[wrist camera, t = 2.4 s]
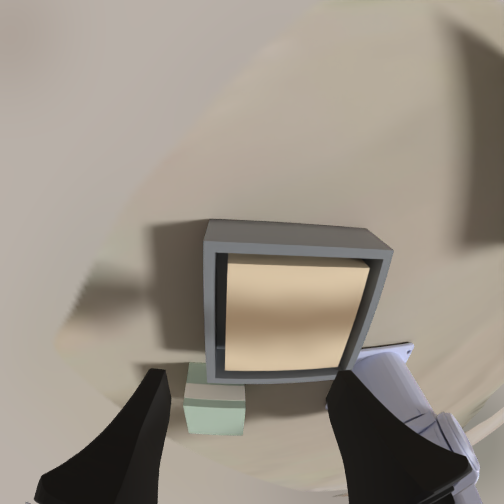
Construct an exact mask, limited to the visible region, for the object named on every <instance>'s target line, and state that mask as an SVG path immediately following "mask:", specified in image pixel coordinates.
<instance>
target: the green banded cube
mask: <svg viewBox="0 0 504 504" xmlns="http://www.w3.org/2000/svg"><path fill="white" fill-rule="evenodd" d="M245 401H246V400H245V386H244V384H221V383H207V371H206V363H195V362H189V369H188V375H187V382H186V387H185V394H184V403H183V407H184V412H185V417H186V422H187V427H188V431H189V433H194V434H208V435H243V428H244V419H245V410H246V405H245Z"/></svg>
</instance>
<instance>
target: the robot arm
mask: <svg viewBox="0 0 504 504" xmlns="http://www.w3.org/2000/svg"><path fill="white" fill-rule="evenodd" d="M413 348H414V344H413V343H406V344H399V345H392V346H385V347H377V348H368V349H361V351H360V353H359V355H358V358H357V360H356V362H355V365H354V367H353V369H352V371H351V370H343V371H338V372H337V375H336V377H335V379H334V382H333V384H332V386H331V389H330V391H329V393H328V395H327V398H326V402H327V404H326V406H325V407H326V409H327V410H328V413H329V418H330V422H331V425H332V428H333V431H334V434H335V437H336V440H337V443H338V446H339V450H340V453H341V456H342V459H343V463H344V468H345V474H346V480H347V488H348V496H349V504H483V503H482V501H481V498H480V496H479V493H478V491H477V489H476V487H475V484H476V482H477V480H478V478H479V470H480V466H479V462H478V460H477V458H476V456H475V454H474V450H473V448H472V446H471V444H470V442H469V440H468V438H467V436H466V435H465V433H464V431H463V429H462V428H461V426H460V425H459V423H458V422H457V420H456V419H455V417H454V416H453V415H452V414H451V413H445V412H441V413H440V414H439V415H436V414H435V413H434V411H433V409H432V408H431V406H430V404H429V402H428V401H427V399H426V397H425V396H424V394H423V392H422V390H421V389H420V387H419V385H418V384H417V382H416V381H415V379H414V377H413V376H412V374H411V372H410V371H409V369H408V368H407V366H406V364H405V363H406V362H407V360H408V358H409V356H410V354H411V352H412V350H413ZM170 408H171V394H170V390H169V385H168V380H167V375H166V370H162V369H153V368H151V369H149V371H148V372H147V374H146V376H145V377H144V379H143V380H142V382H141V384H140V385H139V387H138V388H137V389H136V391H135V392H134V394H133V395H132V397H131V398H130V399H129V401H128V402H127V403H126V405H125V406H124V407H123V409H122V410H121V411H120V412H119V413H118V415H117V416H116V417H115V418H114V420H113V421H112V422H111V423H110V424H109V425H108V426H107V427H106V428H105V430H104V431H103V432H102V433H101V434H100V435H99V436H98V437H96V438H95V439H94V440H93V441H92V442H91V443H90V444H89V445H88V446H86V447H85V448H84V449H83V450H82V451H80V452H79V453H78V454H76V455H75V456H73V457H72V458H70V459H69V460H68V461H66V462H65V463H63V464H62V465H60V466H58V467H56V468H55V469H53V470H51V471H49V472H47V473H45V474H43V475H42V476H41V478H40V480H39V483H38V486H37V490H36V493H35V497H34V500H35V501H36V502H37V503H39V504H157V503H158V478H159V467H160V460H161V456H162V451H163V446H164V441H165V437H166V432H167V428H168V423H169V417H170ZM25 504H30V503H28V502H26V503H25Z"/></svg>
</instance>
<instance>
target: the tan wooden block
mask: <svg viewBox="0 0 504 504" xmlns="http://www.w3.org/2000/svg"><path fill="white" fill-rule="evenodd" d="M369 269H370V268H369V267H368V266H367V264H366V263H365V262H364V261H363V260H362V259H361V258H340V257H315V256H290V255H265V254H241V253H228V273H227V304H226V345H225V370H228V371H279V370H303V369H318V368H330V367H338V365H339V362H340V359H341V357H342V354H343V352H344V349H345V346H346V343H347V341H348V338H349V335H350V332H351V329H352V326H353V323H354V320H355V317H356V314H357V311H358V308H359V304H360V301H361V298H362V294H363V291H364V288H365V284H366V280H367V277H368V273H369Z"/></svg>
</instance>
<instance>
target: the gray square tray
mask: <svg viewBox="0 0 504 504" xmlns="http://www.w3.org/2000/svg"><path fill="white" fill-rule="evenodd" d="M393 252H394V250H393V249H392V248H390V247H389V246H388V245H387V244H385V243H384V242H383V241H382V240H380V239H379V238H378V237H377V236H375V235H374V234H373V233H371V232H370V231H369V230H368V229H365V228H353V227H340V226H327V225H314V224H299V223H283V222H266V221H247V220H225V219H210V220H209V223H208V227H207V230H206V233H205V237H204V241H203V287H204V328H205V352H206V371H207V383H221V384H278V383H299V382H313V381H324V380H334V379H335V377H336V375H337V372H338V371H343V370H351V371H352V369H353V367H354V365H355V362H356V360H357V358H358V355H359V353H360V351H361V348H362V346H363V343H364V341H365V338H366V335H367V333H368V330H369V328H370V325H371V322H372V319H373V317H374V314H375V311H376V308H377V305H378V302H379V299H380V296H381V293H382V290H383V287H384V283H385V280H386V277H387V273H388V270H389V266H390V263H391V259H392V255H393ZM228 253H241V254H265V255H290V256H315V257H340V258H361V259H362V260H363V261H364V262H365V263H366V264H367V266H368V267H369V268H370V269H369V273H368V277H367V280H366V284H365V288H364V291H363V294H362V298H361V301H360V304H359V308H358V311H357V314H356V317H355V320H354V323H353V326H352V329H351V332H350V335H349V338H348V341H347V343H346V346H345V349H344V352H343V354H342V357H341V359H340V362H339V365H338V367H330V368H318V369H303V370H279V371H228V370H225V345H226V304H227V273H228Z"/></svg>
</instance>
